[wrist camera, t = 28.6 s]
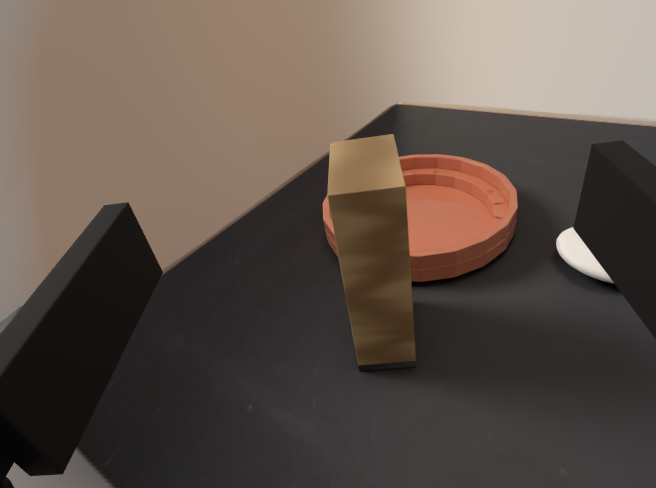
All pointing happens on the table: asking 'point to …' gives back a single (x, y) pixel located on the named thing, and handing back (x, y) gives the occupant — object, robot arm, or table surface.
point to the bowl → (451, 215)
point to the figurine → (579, 255)
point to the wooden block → (373, 249)
